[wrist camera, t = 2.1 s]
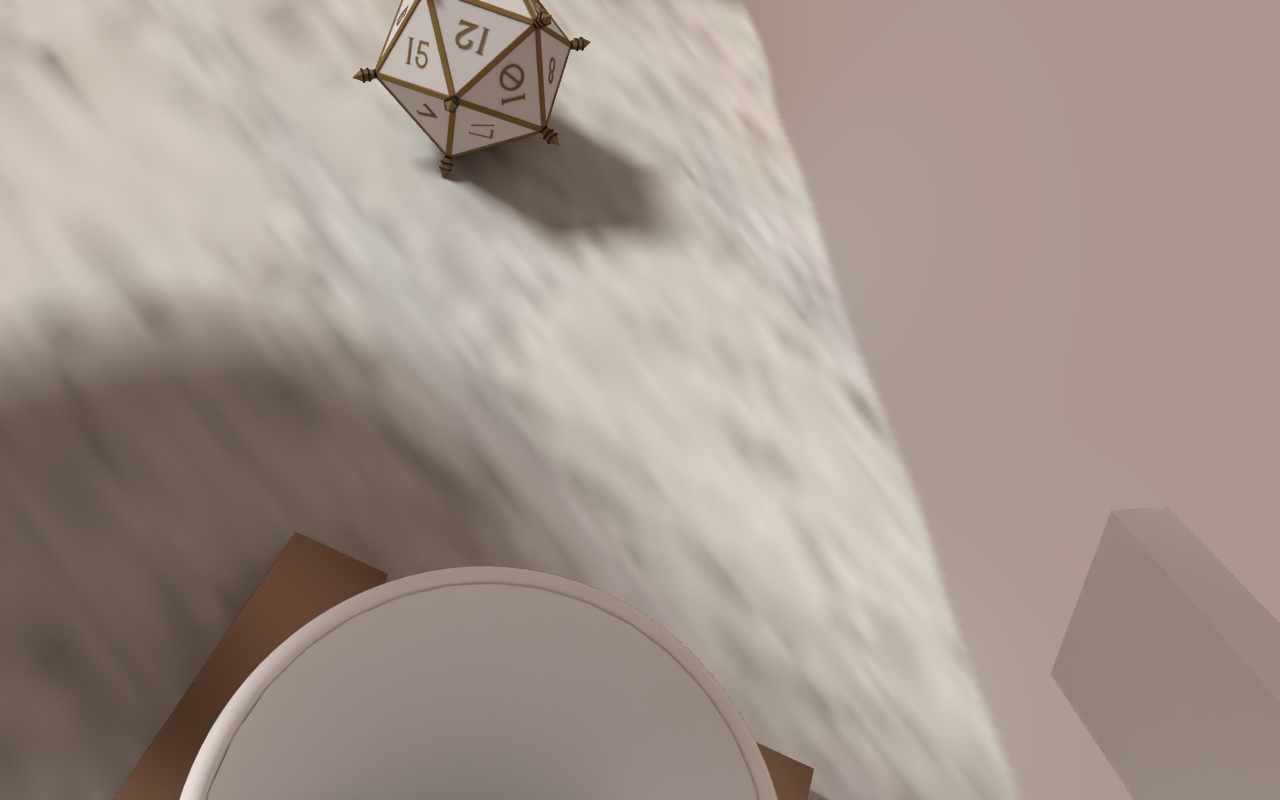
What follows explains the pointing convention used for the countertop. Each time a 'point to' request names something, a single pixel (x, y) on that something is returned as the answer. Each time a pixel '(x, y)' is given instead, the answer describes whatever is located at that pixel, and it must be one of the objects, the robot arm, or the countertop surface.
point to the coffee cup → (480, 703)
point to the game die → (474, 70)
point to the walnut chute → (275, 612)
